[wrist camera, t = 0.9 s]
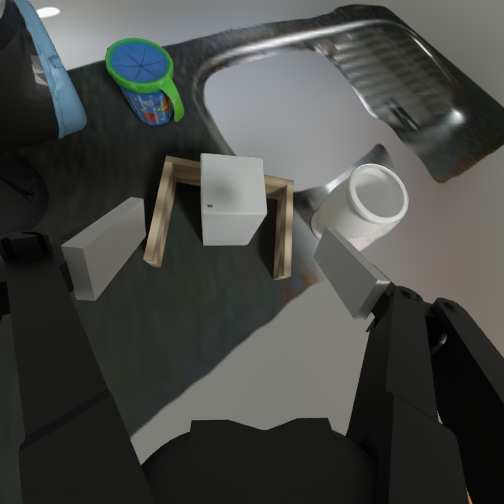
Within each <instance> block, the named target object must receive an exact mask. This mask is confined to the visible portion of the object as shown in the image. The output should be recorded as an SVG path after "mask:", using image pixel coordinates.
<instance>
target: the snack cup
mask: <svg viewBox="0 0 504 504" xmlns="http://www.w3.org/2000/svg"><path fill="white" fill-rule="evenodd" d="M105 61H106V68H107V70H108V72H109V74H110V75H111V76H112V77H113V79H114V80H115V81H116V82H117V83H118V85H119V86H120V88H121V90H122V92H123V93H124V95H125V97H126V99H127V100H128V102H129V104H130V106H131V107H132V109H133V111H134V112H135V114H136V116H137V117H138V118H139V119H140V120H142V121H143V122H145V123H147V124H149V125H151V126H153V125H160V124H163V123H166V122H168V121H169V120H170V118H171V116H172V112H173V109H172V105H173V108H174V121H175V122H177V121H179V120H180V119H181V118H182V117H183V115H184V108H183V105H182V102H181V100H180V97H179V94H178V91H177V89H176V87H175V85H174V83H173V81H172V78H173V62H172V59H171V58H170V56H169V55H168V53H167V52H166V51H165V50H164V49H163V48H162V47H160V46H159V45H157V44H155V43H153V42H151V41H148V40H144V39H138V38H129V39H123V40H120V41H118V42H116V43H114V44H113V45H111V46H110V47H109V48H107V53H106V56H105Z"/></svg>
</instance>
